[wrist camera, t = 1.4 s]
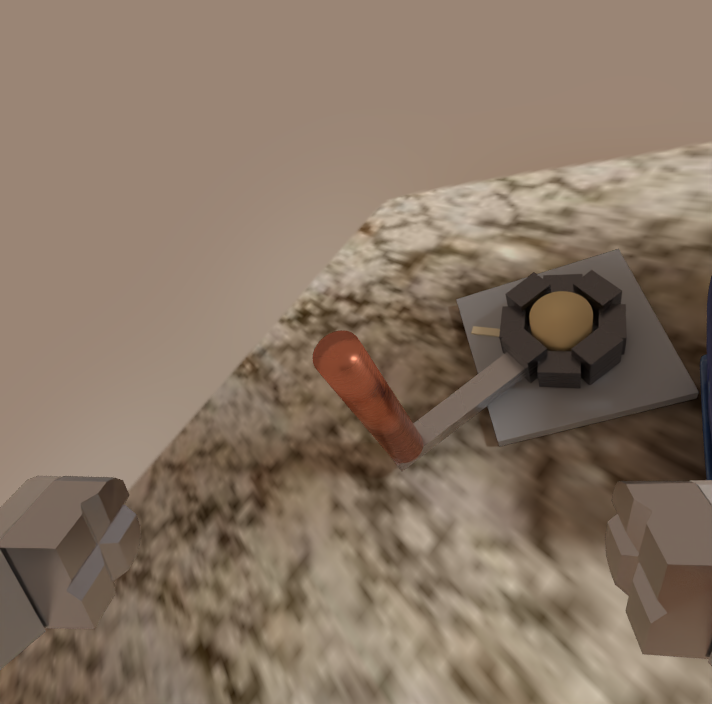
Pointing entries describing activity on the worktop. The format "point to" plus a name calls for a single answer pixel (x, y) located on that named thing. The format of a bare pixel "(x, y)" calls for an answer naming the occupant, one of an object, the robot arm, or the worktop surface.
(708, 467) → the flower pot
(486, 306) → the plate
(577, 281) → the nut with spanner
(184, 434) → the worktop surface
